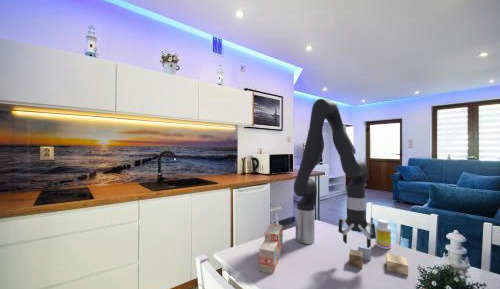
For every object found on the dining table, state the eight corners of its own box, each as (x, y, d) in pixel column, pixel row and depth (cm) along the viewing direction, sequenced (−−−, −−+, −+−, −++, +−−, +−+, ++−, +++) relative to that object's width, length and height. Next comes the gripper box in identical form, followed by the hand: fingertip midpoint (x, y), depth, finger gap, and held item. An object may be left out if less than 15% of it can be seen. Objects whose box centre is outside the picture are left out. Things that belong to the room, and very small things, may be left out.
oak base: (387, 270, 89) (387, 260, 89) (386, 262, 95) (386, 253, 95) (408, 275, 85) (408, 265, 85) (405, 267, 91) (405, 257, 91)
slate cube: (358, 257, 98) (358, 246, 98) (358, 253, 103) (358, 242, 103) (370, 260, 96) (370, 249, 96) (370, 255, 100) (370, 244, 100)
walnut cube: (349, 265, 92) (349, 253, 92) (350, 260, 96) (350, 248, 96) (362, 268, 89) (362, 256, 89) (362, 263, 94) (362, 251, 94)
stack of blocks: (273, 274, 85) (273, 243, 85) (258, 271, 87) (258, 241, 87) (282, 249, 106) (282, 224, 106) (270, 247, 108) (270, 223, 108)
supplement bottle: (393, 250, 105) (393, 223, 105) (378, 248, 107) (378, 222, 107) (387, 244, 112) (387, 219, 112) (373, 242, 113) (373, 218, 113)
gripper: (337, 207, 93) (337, 245, 93) (375, 211, 86) (376, 252, 86) (339, 203, 100) (340, 238, 99) (375, 207, 93) (375, 245, 92)
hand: (356, 245), depth 92 cm, fingers open, 8 cm apart
